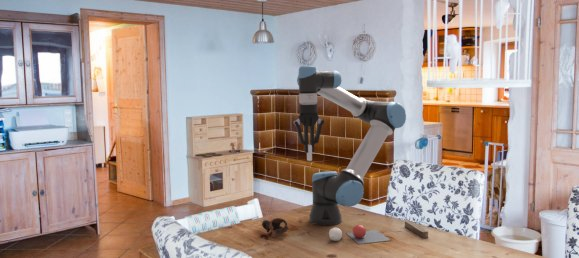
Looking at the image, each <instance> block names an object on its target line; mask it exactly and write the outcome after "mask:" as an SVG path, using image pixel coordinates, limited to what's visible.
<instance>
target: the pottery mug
mask: <svg viewBox="0 0 579 258" xmlns="http://www.w3.org/2000/svg"><path fill="white" fill-rule="evenodd" d="M283 223H284V226H281V224H283ZM261 225H262V227H263V229H264V230H266V232H267V233H271V235H270V236H271V238H272V239H275V238H276V237H278V236H279V237H280V236H282V235H284V234H285V233H287V231H288V230H289V226H288V223H287V221H286V220H285V219H284V218H281V217H275V218H272V219H271V220H270V221H269V220H268V219H267V220H266V219H265V220H262V223H261Z"/></svg>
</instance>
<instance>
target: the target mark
mask: <svg viewBox="0 0 579 258" xmlns="http://www.w3.org/2000/svg"><path fill="white" fill-rule="evenodd" d="M346 235H347V236H348V237H349V238H350V239H352V240H353V241H354V242H355V243H356V244H357V245H362V244H373V243H382V242H383V243H384V242H391V239H390V238H389V237H387V236H385V235H384V234H383V233H382V232H380V231H379V230H377V229H372V230H371V229H370V230H366V234H365V236H364V237H363V238H356V237H355V236H354V235H353V231H352V232H346Z"/></svg>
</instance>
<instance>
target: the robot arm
mask: <svg viewBox="0 0 579 258" xmlns="http://www.w3.org/2000/svg"><path fill="white" fill-rule="evenodd" d="M296 79H297V80H296V83H297V85H298V103H299V107H298V108H299V109H298V110H299V115H298V118H297V119H296V120H294V121H293V122H292V123H293V125H294V126H295V129H296V132H297V133H296V134H297V137H298V139H299V143H300V144H301V145H304V146H303V147H304V153H305V154H306V160H307V161H308V162H312V161H313V153H314V152H315V145H316V144H318V143H319V140H320V137H321V132H322V127H323V125H324V123H325V120H323V119H321V118H320V117H319V114H318V113H319V112H318V110H319V109H318V106H319V105H318V104H317V103H318V96H319V95H320V96H321V97H322V98H324V99H326V100H328V101H329V102H332V103H334V104H336V105H337V106H339V107H341V108H343V109H345V110H346V111H349V112H350V113H351V115H352V116H353V117H355V118H357V119H359V120H360V121H362V122H364V123H366V124H369V125H370V128H369V129H368V131H367V133H365V134H366V135H364V137H363V139H362V141H361V143H360V144H359V146H358V148H357V149H356V151H355V152H354V155H353V156H352V157H351V160H350V161H349V163H348V165H347V167H346V168H344V169H341V170H340V172H339V174H338V172H337V171H334V170H333V171H331V170H327V171H320V172H316V173H313V174H312V176H311V177H312V178H311V183H312V185H311V186H312V187H311V190H312V191H311V192H312V205H311V209H310V214H309V216H308V217H309V218H308V219H309V220H308V221H309V222H310V223H311V224H314V225H317V226H333V225H338V224H340V223H341V222H342V221H343V219H342V218H343V217H342V213H341V211H340V210H341V209H340V207H339V206H342V207H343V206H344V207H355V206H357V205H358V204H359V203H360V202H361V200H362V199H363V197H364V193H365V192H364V191H365V189H364V185H365V182H364V181H365V180H364V177H365V176H366V174H367V172H368V170H369V168H370V167H371V165H372V164H373V162H374V161H375V158H377V157H376V156H377V155H378V153H379V151H380V149H381V148H382V146H383V144H384V143H385V141H386V139H387V138H388V136H391V135H393V134H394V132H395V130H396V129H399V128H402V127H403V126H404V125H405V123H406V120H407V114H406V109H405V107H404V106H403V104H401V103H400V102H396V101H376V100H375V101H374V100H369V99H366V98H364V97H359V96H356V95H354V94H353V93H351V92H349V91H347V90H345V89H344V88H342V87H340V86H341V85H342V81H343V80H342V75H341V73H340V72H339V71H337V70H318V68H317V66H316V65H303V66H300V67H298V76H297V78H296ZM300 124H302V127H303V132H302V129H301V126H300ZM316 125H317V126H316ZM315 126H316V130H315ZM309 143H310V144H309Z"/></svg>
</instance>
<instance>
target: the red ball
mask: <svg viewBox="0 0 579 258" xmlns="http://www.w3.org/2000/svg"><path fill="white" fill-rule="evenodd" d="M366 231H367V230H366V227H365V226H364V225H362V224H356V225H354V226H353V228H352V232H353V235H354V236H355V237H356V238H363V237H364V236H365V234H366Z"/></svg>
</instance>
